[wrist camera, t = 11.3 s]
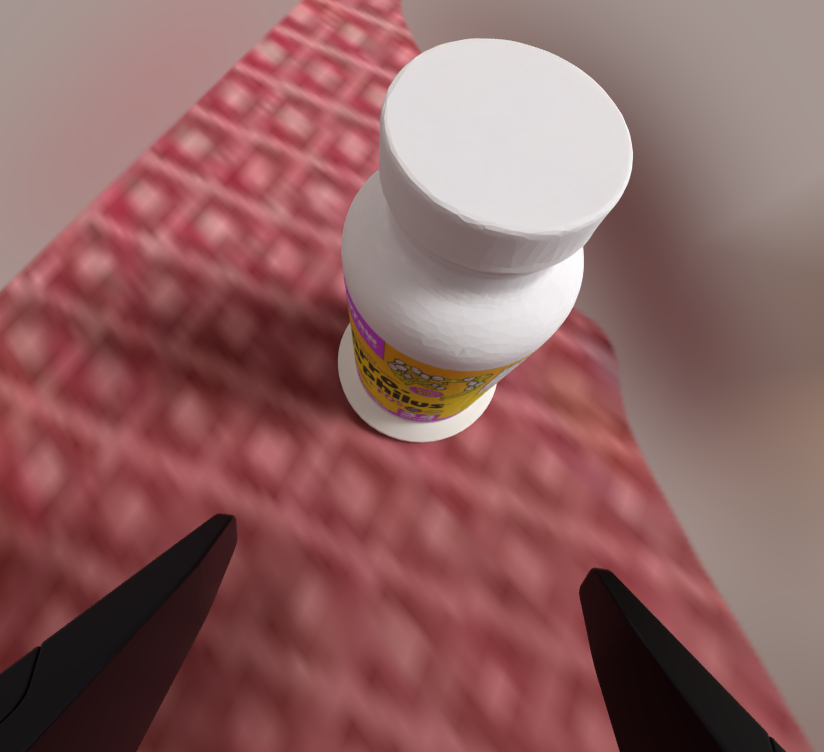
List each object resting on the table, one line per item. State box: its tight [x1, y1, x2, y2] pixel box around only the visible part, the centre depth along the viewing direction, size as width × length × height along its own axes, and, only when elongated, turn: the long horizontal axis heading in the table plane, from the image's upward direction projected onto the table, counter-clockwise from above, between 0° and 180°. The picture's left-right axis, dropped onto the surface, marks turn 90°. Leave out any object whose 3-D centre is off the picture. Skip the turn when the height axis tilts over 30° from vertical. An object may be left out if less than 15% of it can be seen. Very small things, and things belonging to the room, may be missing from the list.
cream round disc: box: [338, 323, 497, 443], centre depth 19 cm, size 8×8×1 cm
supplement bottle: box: [341, 38, 633, 423], centre depth 12 cm, size 7×7×13 cm
